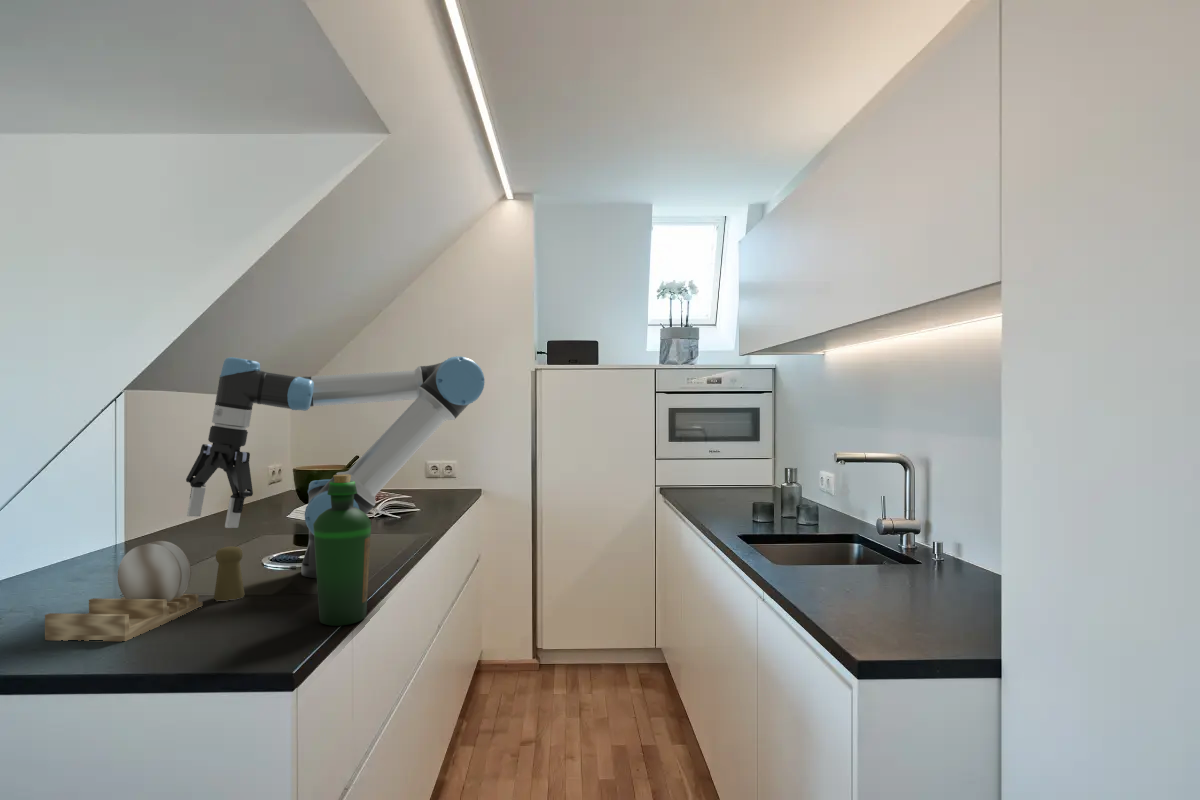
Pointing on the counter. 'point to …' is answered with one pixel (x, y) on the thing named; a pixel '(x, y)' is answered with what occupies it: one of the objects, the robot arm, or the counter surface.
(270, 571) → the counter surface
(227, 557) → the cork
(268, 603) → the counter surface
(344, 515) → the bottle
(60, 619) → the rack
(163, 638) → the counter surface
